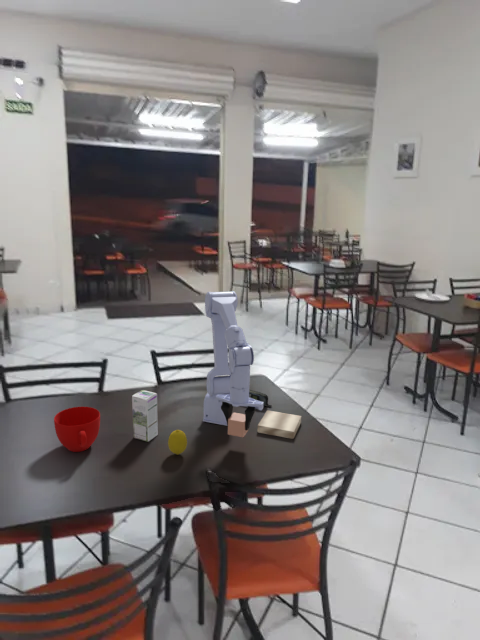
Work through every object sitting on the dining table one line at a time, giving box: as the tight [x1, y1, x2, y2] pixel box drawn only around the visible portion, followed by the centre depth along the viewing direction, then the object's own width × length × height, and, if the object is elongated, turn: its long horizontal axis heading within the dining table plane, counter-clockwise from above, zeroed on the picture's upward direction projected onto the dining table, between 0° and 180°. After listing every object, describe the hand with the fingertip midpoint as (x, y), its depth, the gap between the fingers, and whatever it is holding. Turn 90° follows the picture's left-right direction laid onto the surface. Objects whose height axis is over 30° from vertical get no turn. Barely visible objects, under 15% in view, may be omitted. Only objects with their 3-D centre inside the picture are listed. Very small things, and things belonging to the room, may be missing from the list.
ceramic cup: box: [53, 406, 101, 453], centre depth 140 cm, size 13×17×10 cm
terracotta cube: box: [227, 412, 250, 438], centre depth 144 cm, size 5×5×5 cm
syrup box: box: [131, 389, 159, 443], centre depth 148 cm, size 6×6×14 cm
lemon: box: [167, 429, 188, 455], centre depth 139 cm, size 6×6×8 cm
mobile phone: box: [249, 389, 273, 408], centre depth 176 cm, size 5×3×15 cm
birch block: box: [257, 409, 302, 440], centre depth 159 cm, size 12×12×3 cm
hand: (238, 427), depth 144 cm, fingers closed on terracotta cube, 5 cm apart
